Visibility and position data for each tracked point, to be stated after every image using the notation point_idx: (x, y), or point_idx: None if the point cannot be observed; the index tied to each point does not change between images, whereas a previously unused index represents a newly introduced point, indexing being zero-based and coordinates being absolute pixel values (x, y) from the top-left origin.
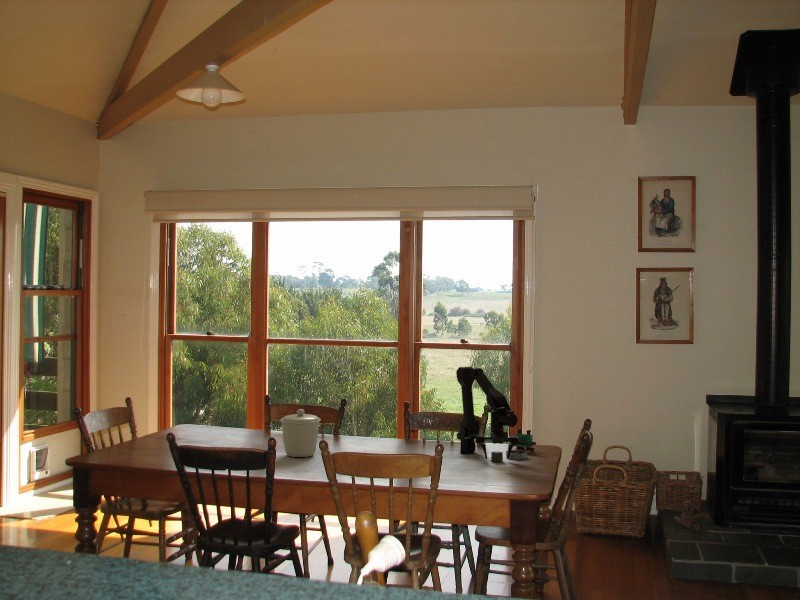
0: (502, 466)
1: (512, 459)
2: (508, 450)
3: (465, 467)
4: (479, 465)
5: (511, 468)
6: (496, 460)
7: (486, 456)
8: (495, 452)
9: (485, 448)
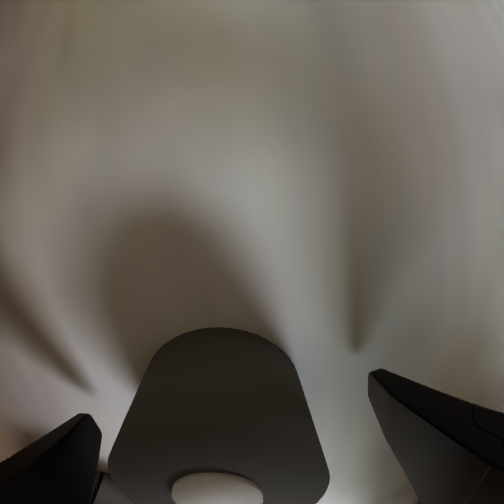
0: (86, 126)
1: (106, 474)
2: (9, 480)
3: (479, 16)
4: (414, 93)
5: (3, 87)
6: (207, 344)
7: (391, 384)
8: (241, 484)
9: (493, 454)
